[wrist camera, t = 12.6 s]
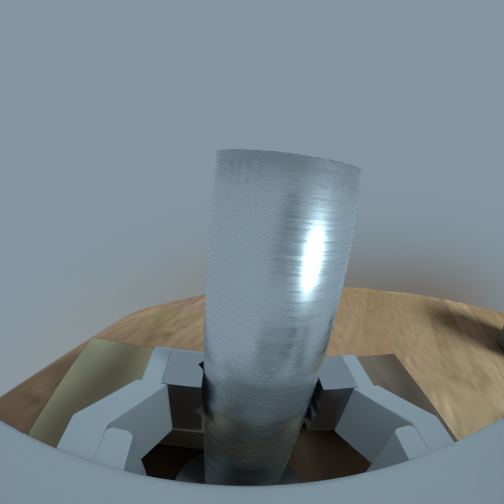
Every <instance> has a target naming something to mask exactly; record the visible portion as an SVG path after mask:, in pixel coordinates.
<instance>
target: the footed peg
mask: <svg viewBox="0 0 504 504" xmlns="http://www.w3.org/2000/svg"><path fill="white" fill-rule="evenodd" d="M362 171H363V170H362V169H361V168H359V167H356V166H353V165H350V164H346V163H342V162H338V161H333V160H329V159H323V158H318V157H312V156H306V155H299V154H292V153H284V152H274V151H262V150H261V151H260V150H242V149H231V150H218V151H217V153H216V163H215V173H214V184H213V195H212V207H211V220H210V233H209V249H208V265H207V284H206V304H205V332H204V389H203V399H204V401H203V410H204V453H202V454H200V455H198V456H196V457H194V458H193V459H191V460H190V461H189V462H188V463H186V464H185V465H184V466H183V468H182V469H181V470H180V472H179V473H178V475H177V477H176V479H175V481H181V482H189V483H198V484H210V485H228V486H268V485H286V484H298V483H299V481H298V479H297V477H296V476H295V474H294V473H293V472H292V470H291V469H290V468H289V467H288V466H287V465H286V464H287V462H288V460H289V457H290V455H291V452H292V450H293V447H294V445H295V442H296V440H297V437H298V435H299V432H300V429H301V427H302V424H303V421H304V419H305V416H306V413H307V410H308V407H309V404H310V402H311V399H312V396H313V393H314V390H315V387H316V383H317V380H318V377H319V374H320V371H321V367H322V364H323V361H324V357H325V354H326V350H327V347H328V343H329V340H330V336H331V332H332V329H333V325H334V321H335V317H336V313H337V309H338V305H339V301H340V297H341V292H342V288H343V283H344V279H345V274H346V269H347V264H348V259H349V254H350V249H351V244H352V238H353V233H354V227H355V221H356V215H357V208H358V201H359V194H360V186H361V179H362Z"/></svg>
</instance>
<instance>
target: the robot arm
mask: <svg viewBox="0 0 504 504" xmlns="http://www.w3.org/2000/svg"><path fill="white" fill-rule="evenodd" d="M203 389H204V352H198V351H190V350H182V349H175V348H173V349H172V348H167V347H160V346H156V347H155V348H154V350H153V352H152V355H151V357H150V360H149V362H148V365H147V367H146V370H145V372H144V375H143V377H142V380H135V381H133V382H131V383H130V384H128V385H126V386H124V387H123V388H121V389H119V390H117V391H116V392H114V393H112V394H110V395H108V396H107V397H105V398H103V399H101V400H99V401H98V402H96V403H94V404H92V405H90V406H88V407H87V408H85V409H83V410H81V411H79V412H77V413H75V414H74V415H73V417H72V418H71V420H70V422H69V424H68V426H67V428H66V430H65V432H64V434H63V436H62V438H61V440H60V442H59V444H58V446H57V448H54V447H52V446H49V445H47V444H45V443H43V442H40V441H38V440H36V439H34V438H32V437H30V436H28V435H26V434H24V433H22V432H20V431H18V430H16V429H14V428H13V427H11V426H9V425H7V424H5V423H4V422H2V421H0V504H504V417H502V418H500V419H499V420H497V421H495V422H493V423H492V424H490V425H488V426H486V427H484V428H483V429H481V430H479V431H477V432H475V433H473V434H471V435H469V436H467V437H465V438H463V439H461V440H459V441H456V442H454V441H453V440H452V438H451V437H450V435H449V434H448V432H447V431H446V429H445V428H444V426H443V425H442V424H441V422H440V421H439V419H438V418H437V416H435V415H433V414H431V413H429V412H427V411H425V410H423V409H421V408H419V407H417V406H415V405H413V404H412V403H410V402H408V401H406V400H404V399H402V398H400V397H398V396H397V395H395V394H393V393H391V392H389V391H387V390H386V389H384V388H382V387H380V386H378V385H377V386H374V385H373V383H372V382H371V380H370V379H369V377H368V375H367V374H366V372H365V370H364V369H363V367H362V365H361V364H360V362H359V361H358V359H357V357H356V356H355V355H353V354H352V355H339V356H325V357H324V361H323V364H322V367H321V371H320V374H319V377H318V380H317V383H316V387H315V390H314V393H313V396H312V399H311V402H310V404H309V407H308V410H307V413H306V416H305V422H306V426H307V429H308V431H323V430H334V431H335V432H336V433H337V434H339V435H340V436H341V437H342V438H343V439H344V440H345V441H346V442H348V443H349V444H350V445H351V446H352V447H353V448H355V449H356V450H357V451H358V452H359V453H360V454H361V455H363V456H364V457H365V458H366V459H367V460H369V461H370V462H371V463H372V464H371V466H370V467H369V468H368V469H367V471H366V472H365V473H361V474H356V475H351V476H346V477H341V478H335V479H329V480H323V481H315V482H307V483H298V484H286V485H268V486H228V485H210V484H198V483H189V482H181V481H173V480H167V479H161V478H155V477H150V476H147V474H146V471H145V469H144V466H143V464H142V461H141V459H142V458H143V457H144V456H145V455H146V454H147V453H148V452H149V451H150V450H151V449H152V448H153V447H154V446H155V445H157V444H158V443H159V442H160V441H161V440H162V439H163V438H164V437H165V436H166V435H167V434H168V433H169V432H170V431H171V430H172V428H179V429H190V430H202V423H203V401H204V399H203Z"/></svg>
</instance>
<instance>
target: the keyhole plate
mask: <svg viewBox="0 0 504 504" xmlns="http://www.w3.org/2000/svg"><path fill="white" fill-rule="evenodd" d="M153 350H154V348H149V347H143V346H136V345H130V344H124V343H118V342H113V341H108V340H103V339H98V338H93V337H92V338H91V340H90V341H89V342H88V344H87V345H86V346H85V348H84V349H83V351H82V352H81V353H80V355H79V356H78V358H77V359H76V360H75V362H74V363H73V365H72V366H71V367H70V369H69V370H68V372H67V373H66V375H65V376H64V378H63V379H62V381H61V382H60V384H59V385H58V387H57V388H56V390H55V391H54V393H53V394H52V396H51V397H50V399H49V400H48V402H47V404H46V405H45V407H44V408H43V410H42V412H41V413H40V415H39V416H38V418H37V420H36V421H35V423H34V425H33V426H32V428H31V430H30V431H29V433H28V436H30V437H32V438H34V439H36V440H38V441H40V442H43V443H45V444H47V445H49V446H52V447H54V448H57V446H58V444H59V442H60V440H61V438H62V436H63V434H64V432H65V430H66V428H67V426H68V424H69V422H70V420H71V418H72V417H73V415H74V414H75V413H77V412H79V411H81V410H83V409H85V408H87V407H88V406H90V405H92V404H94V403H96V402H98V401H99V400H101V399H103V398H105V397H107V396H108V395H110V394H112V393H114V392H116V391H117V390H119V389H121V388H123V387H124V386H126V385H128V384H130V383H131V382H133V381H135V380H142V377H143V375H144V372H145V370H146V367H147V365H148V362H149V360H150V357H151V355H152V352H153ZM357 359H358V361H359V362H360V364H361V365H362V367H363V369H364V370H365V372H366V374H367V375H368V377H369V379H370V380H371V382H372V383H373V385H374V386H377V385H378V386H380V387H382V388H384V389H386V390H387V391H389V392H391V393H393V394H395V395H397V396H398V397H400V398H402V399H404V400H406V401H408V402H410V403H412V404H413V405H415V406H417V407H419V408H421V409H423V410H425V411H427V412H429V413H431V414H433V415H435V416H437V418H438V419H439V421H440V422H441V424H442V425H443V426H444V428H445V429H446V431H447V432H448V434H449V435H450V437H451V438H452V440H453V441H454V442H456V441H458V440H457V439H456V437H455V436H454V434H453V433H452V432H451V430H450V429H449V427H448V426H447V424H446V423H445V422H444V420H443V419H442V417H441V416H440V415H439V413H438V412H437V410H436V409H435V408H434V406H433V405H432V404H431V402H430V401H429V399H428V398H427V397H426V395H425V394H424V393H423V391H422V390H421V389H420V387H419V386H418V385H417V383H416V382H415V381H414V379H413V378H412V377H411V375H410V374H409V373H408V371H407V370H406V369H405V368H404V366H403V365H402V364H401V362H400V361H399V360H398V358H397V357H396V356H395V355H394V354H388V355H376V356H361V357H357ZM303 424H306V422H305V419H304V421H303ZM158 444H165V445H171V446H178V447H186V448H195V449H204V410H203V423H202V430H190V429H179V428H172V430H171V431H170V432H169V433H168V434H167V435H166V436H165V437H164V438H163V439H162V440H161V441H160V442H159V443H158Z"/></svg>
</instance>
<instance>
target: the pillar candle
mask: <svg viewBox="0 0 504 504" xmlns="http://www.w3.org/2000/svg"><path fill="white" fill-rule="evenodd" d="M498 341H499V344H500V346H501V347H502V349H503V350H504V327H503V329H502V331H501V333H500V336H499V339H498Z"/></svg>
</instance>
